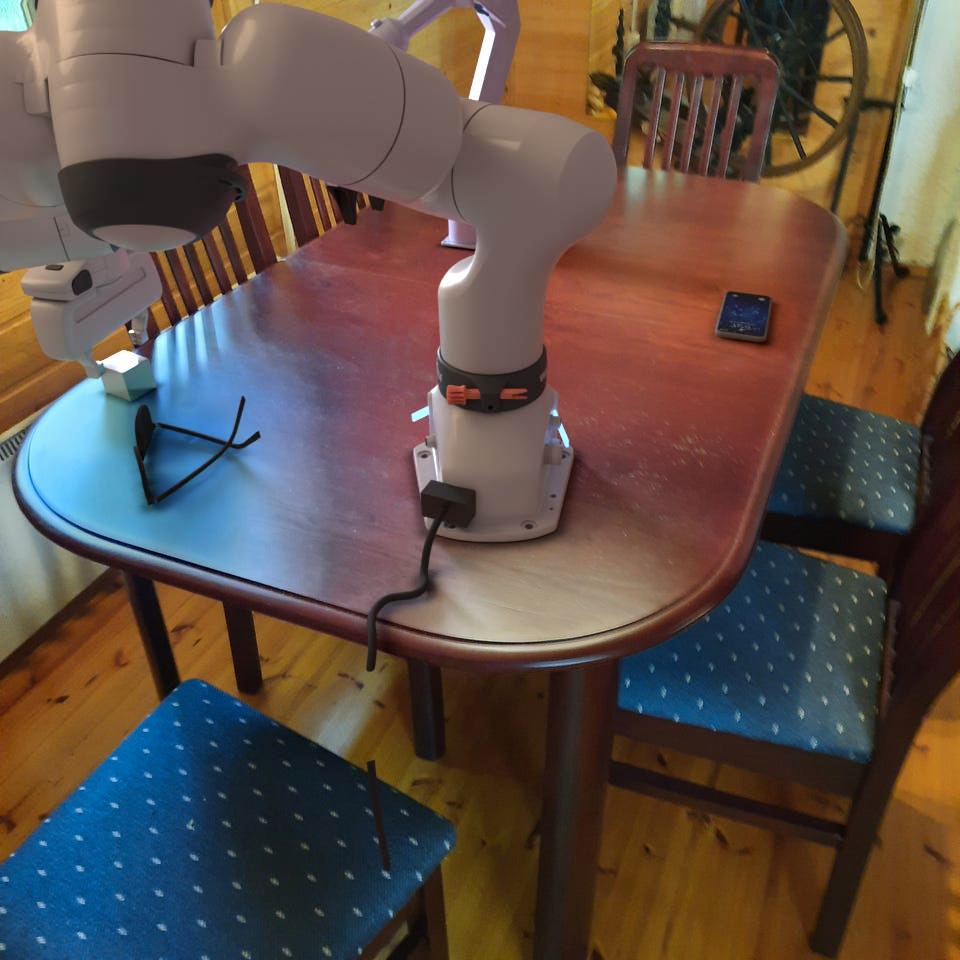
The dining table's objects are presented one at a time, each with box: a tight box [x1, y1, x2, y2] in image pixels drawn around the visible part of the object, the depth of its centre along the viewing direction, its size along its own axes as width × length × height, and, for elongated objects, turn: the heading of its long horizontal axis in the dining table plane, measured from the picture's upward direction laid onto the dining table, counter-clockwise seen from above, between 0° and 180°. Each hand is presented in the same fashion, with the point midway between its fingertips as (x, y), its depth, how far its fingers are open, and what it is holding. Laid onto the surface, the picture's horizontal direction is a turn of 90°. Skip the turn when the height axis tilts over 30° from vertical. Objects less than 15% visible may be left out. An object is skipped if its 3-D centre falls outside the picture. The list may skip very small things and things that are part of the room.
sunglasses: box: [132, 395, 262, 506], centre depth 100 cm, size 17×14×5 cm
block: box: [100, 349, 158, 402], centre depth 114 cm, size 4×5×4 cm
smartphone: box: [714, 290, 774, 343], centre depth 128 cm, size 7×1×15 cm
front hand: (119, 358), depth 112 cm, fingers open, 8 cm apart
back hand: (364, 216), depth 146 cm, fingers open, 7 cm apart
